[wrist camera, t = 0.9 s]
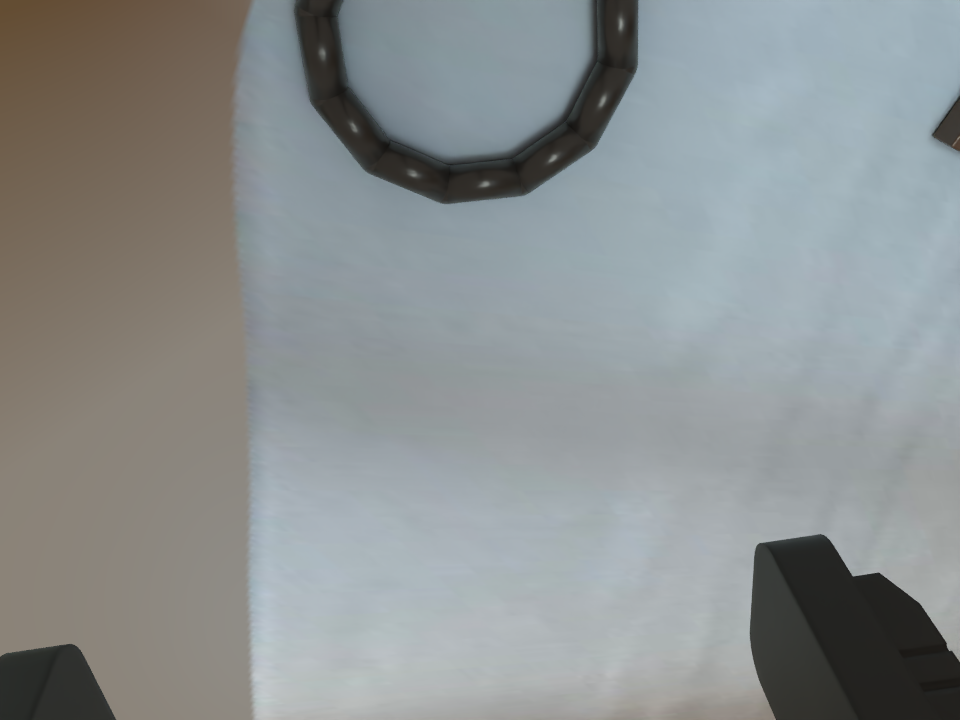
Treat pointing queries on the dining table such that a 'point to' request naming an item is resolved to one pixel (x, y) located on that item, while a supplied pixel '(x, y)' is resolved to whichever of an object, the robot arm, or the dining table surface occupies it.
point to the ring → (470, 180)
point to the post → (950, 128)
